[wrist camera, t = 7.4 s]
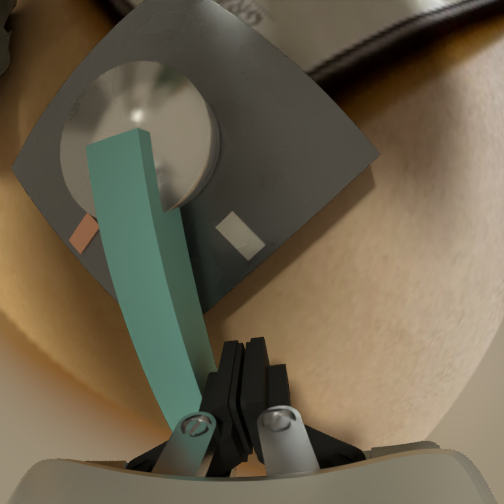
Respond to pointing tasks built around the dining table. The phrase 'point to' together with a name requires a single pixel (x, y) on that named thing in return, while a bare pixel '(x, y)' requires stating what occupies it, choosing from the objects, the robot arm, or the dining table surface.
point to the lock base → (231, 142)
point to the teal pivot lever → (148, 213)
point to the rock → (5, 33)
